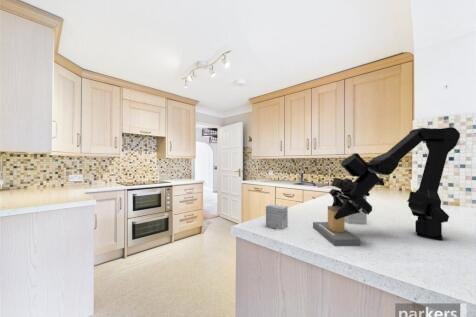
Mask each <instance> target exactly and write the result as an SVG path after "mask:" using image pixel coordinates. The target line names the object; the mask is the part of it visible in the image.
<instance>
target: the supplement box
mask: <svg viewBox="0 0 476 317" xmlns="http://www.w3.org/2000/svg"><path fill="white" fill-rule="evenodd" d="M363 198H364V199H365V200H366V201H367V196H364V197H363ZM359 211H360V213H356V214H352V215H349V216H346V217H344V222H346V223H347V224H349V225H350V224H351V225H353V224H354V225H367V223H368V220H367V216H368V214H365V213H363V212H362V208H361V209H360V210H359Z"/></svg>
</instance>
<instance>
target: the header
mask: <svg viewBox="0 0 476 317" xmlns="http://www.w3.org/2000/svg"><path fill="white" fill-rule="evenodd" d="M312 227H313V229H314V230H316V231H317V232H318V233H319V234H320V235H321V236H322V237H324V238H325V239H326V240H327V241H328V242H330V243H331V245H333V246H334V247H361V239H360V238H359V237H358V236H356V235H354V234H353V233H350V232H349V231H348V230H347V229H345V228H344V232H332V231H330V230H329V229H328V221H313V222H312Z"/></svg>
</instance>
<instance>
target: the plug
mask: <svg viewBox="0 0 476 317" xmlns="http://www.w3.org/2000/svg"><path fill="white" fill-rule="evenodd" d="M340 208H341V207H340V206H332V205H327V222H328V229H329V230H330V231H332V232H344V229H345V220H344V217H343V218H340V219H337V220H336V219H335V218H334V216H335V215H336V213H337V212H338V211H339V209H340Z"/></svg>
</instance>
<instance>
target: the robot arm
mask: <svg viewBox="0 0 476 317" xmlns="http://www.w3.org/2000/svg"><path fill="white" fill-rule="evenodd" d="M460 137H461V133H460V131H458V129H457V128H455V127H453V126H449V127H443V128H429V127H420V128H413V129H412V130H410V131H409V133H408V134H407V135H406V136H404V137H403V138H402V139H401V140H399V141H398V142H397V143H396V144H395V145H394V146H393V147H391V148H390V149H389V150H388V151H386V152H384V153H382V154H379V155H377V156H376V157H374V158H372V159H371V160H369V161H368V162H366V161H365V160H364V159H363V158H362V157H361V155H360V154H359V153H357V152H356V153H355V152H354V153H352V155H349V156H347V157H346V158H344V159H343V160H342V162H341V163H340V166H341V167H342V168H343V169H344V170H345V171H346V172H347V173H348V174H349V175H350V176H351V177H357V178H356V179H355V180H352V179H350V178H349V177H348V178H346V177H345V178H344V179H342V178H339V177H334V178H333V180H332V182H331V185H330V186H332V187H335V188H332V189H330V190H329V191H328V193H329V195H330V196H332V199H333V202H332V205H331V206H340V207H341V208H340V209H339V211H338V212H337V213H336V215H335V216H334V218H335V219H336V220H337V219H340V218H343V217H346V216H349V215H352V214H356V213H360V211H359V210H360V209H361V208H362V212H363V213H365V214H367V216H369V215H370V213H372V212H373V206H372V205H371V204H370V203H369V202H368V201H367V199H366V200H365V199H364V198H363V197H364V196H366V197H369V196H370V195H371V194H370V191H371V190H372V189H373V188H374V187H375V186H376V185H377V186H381V187H384V186H385V182H384V177H379V175H383V176H389V175H391V174H393V173H394V172H395V170H396V169H397V168H398V166H399V165H400V164H399V163H400V161H402V160H401V159H404V157H405V156H407V155H408V154H409V153H410V152H412V150H414V149H415V148H416V147H417V146H418V145H420V144H421V143H422V142H425V146H426V148H427V150H428V154H427V157H426V161H425V165H424V169H423V173H422V176H421V180H420V184H419V187H418V188H417V190H416V191H410V192H409V197H408V199H407V200H406V202H408V204H407V205H408V207H409V210H410V212H411V214H412V216H414V217H417V219H415V221H414V222H415V223H414V224H415V233H416V235H417V236H418V237H423V238H428V239H434V240H438V241H439V240H440V241H443V232H442V229H443V228H442V227H443V226H442V225H443V223H448V222H449V218H450V216H449V214H448V213H447V212H446V211H445V210H444V209H443V208H442V207H441V206H442V199H441V198H440V195H439V193H438V192H439V188H440V184H441V180H442V177H443V173H444V169H445V166H446V161H447V157H448V155H449V153H450V152H451V151H452V150H453V149H455V147H456V146H457V145H458V142H459V140H460ZM336 188H337V189H336Z"/></svg>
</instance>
